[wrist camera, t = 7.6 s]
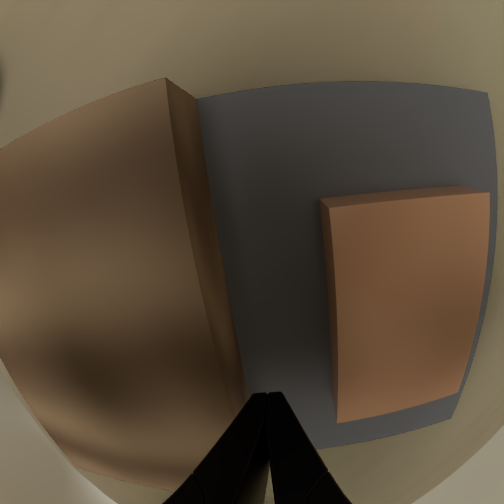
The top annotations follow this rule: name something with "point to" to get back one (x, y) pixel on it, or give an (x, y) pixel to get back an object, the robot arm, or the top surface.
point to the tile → (402, 294)
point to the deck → (119, 287)
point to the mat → (310, 225)
